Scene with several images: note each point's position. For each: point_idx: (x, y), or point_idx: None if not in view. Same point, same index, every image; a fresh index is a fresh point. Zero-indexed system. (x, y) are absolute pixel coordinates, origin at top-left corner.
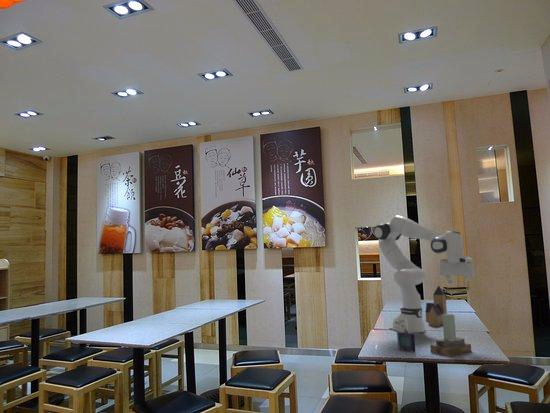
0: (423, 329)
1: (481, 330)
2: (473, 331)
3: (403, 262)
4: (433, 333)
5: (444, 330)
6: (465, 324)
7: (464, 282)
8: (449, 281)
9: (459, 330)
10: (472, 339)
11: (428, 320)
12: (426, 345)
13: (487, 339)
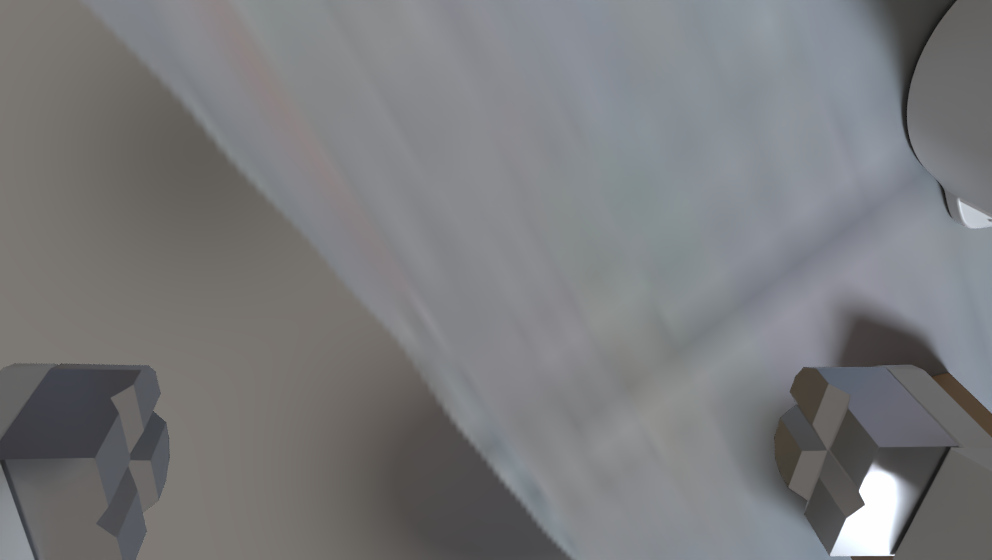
0: (929, 93)
1: (508, 463)
2: (539, 398)
3: None
4: (802, 92)
5: None
6: (697, 552)
7: (50, 410)
8: (885, 406)
9: (648, 360)
10: (376, 108)
11: (975, 399)
12: None
13: (280, 205)
